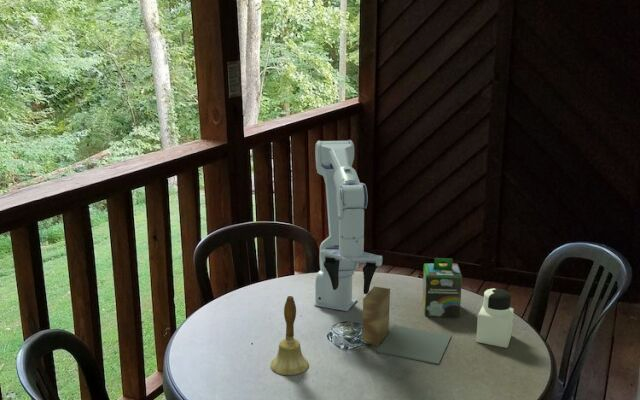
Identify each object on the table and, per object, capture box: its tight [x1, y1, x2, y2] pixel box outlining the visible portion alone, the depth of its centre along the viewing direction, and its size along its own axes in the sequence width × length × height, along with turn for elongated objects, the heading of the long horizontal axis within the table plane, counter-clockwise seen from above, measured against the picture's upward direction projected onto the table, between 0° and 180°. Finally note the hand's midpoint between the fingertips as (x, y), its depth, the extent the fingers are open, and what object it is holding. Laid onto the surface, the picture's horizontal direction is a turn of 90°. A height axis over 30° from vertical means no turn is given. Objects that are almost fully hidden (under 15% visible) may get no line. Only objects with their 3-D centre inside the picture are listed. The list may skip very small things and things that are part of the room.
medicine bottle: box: [475, 287, 515, 349], centre depth 138 cm, size 7×7×12 cm
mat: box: [376, 324, 452, 366], centre depth 136 cm, size 14×14×1 cm
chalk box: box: [422, 257, 463, 319], centre depth 153 cm, size 9×9×15 cm
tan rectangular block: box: [361, 286, 391, 347], centre depth 139 cm, size 4×8×11 cm, turn 157°
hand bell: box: [270, 295, 310, 376], centre depth 125 cm, size 8×8×16 cm
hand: (350, 290), depth 140 cm, fingers open, 7 cm apart
